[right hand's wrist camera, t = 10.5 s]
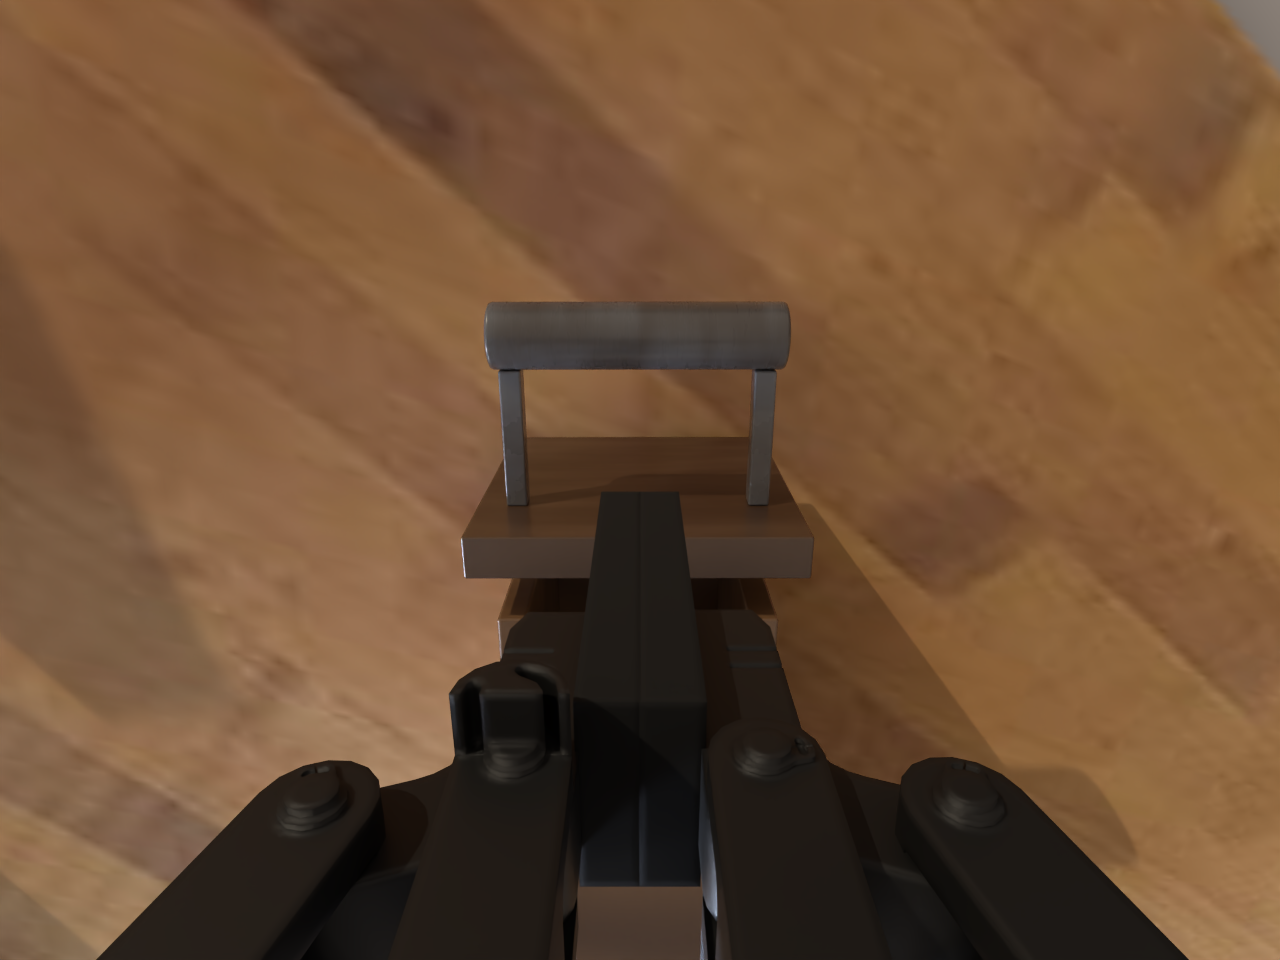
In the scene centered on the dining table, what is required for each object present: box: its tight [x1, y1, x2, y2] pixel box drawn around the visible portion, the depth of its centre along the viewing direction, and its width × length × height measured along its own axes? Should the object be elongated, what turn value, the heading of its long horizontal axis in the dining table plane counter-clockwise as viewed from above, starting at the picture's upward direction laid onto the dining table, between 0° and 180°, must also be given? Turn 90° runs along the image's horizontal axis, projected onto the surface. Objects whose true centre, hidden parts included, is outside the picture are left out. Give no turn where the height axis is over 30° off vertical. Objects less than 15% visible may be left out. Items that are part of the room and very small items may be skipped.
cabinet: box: [576, 879, 703, 960], centre depth 30 cm, size 19×10×11 cm, turn 0°
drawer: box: [461, 302, 814, 659], centre depth 26 cm, size 24×9×9 cm, turn 0°
